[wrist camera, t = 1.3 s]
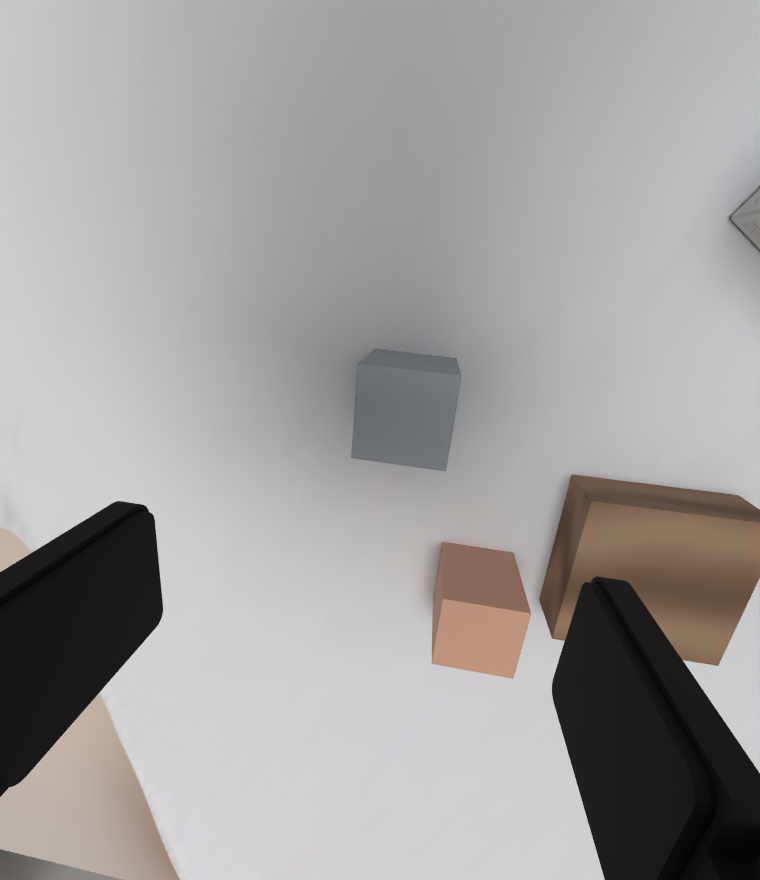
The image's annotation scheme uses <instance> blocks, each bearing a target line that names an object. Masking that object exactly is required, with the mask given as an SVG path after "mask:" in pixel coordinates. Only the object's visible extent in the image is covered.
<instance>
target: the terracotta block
mask: <svg viewBox="0 0 760 880" xmlns="http://www.w3.org/2000/svg"><path fill="white" fill-rule="evenodd" d="M530 616H531V612H530V608H529V605H528V601H527V598H526V594H525V591H524V588H523V584H522V581H521V577H520V574H519V570H518V567H517V563H516V560H515V557H514V553H511V552H504V551H498V550H491V549H485V548H478V547H472V546H466V545H459V544H453V543H446V542H442V547H441V553H440V559H439V565H438V571H437V577H436V583H435V589H434V595H433V623H432V664H436V665H442V666H447V667H453V668H458V669H463V670H469V671H474V672H480V673H485V674H491V675H496V676H502V677H507V678H514V675H515V671H516V667H517V664H518V660H519V656H520V653H521V649H522V645H523V641H524V638H525V634H526V630H527V627H528V623H529V619H530Z"/></svg>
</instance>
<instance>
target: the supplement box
mask: <svg viewBox="0 0 760 880" xmlns="http://www.w3.org/2000/svg"><path fill="white" fill-rule="evenodd" d="M731 220H732V221H733V222H734V223H735V224H736V226H737V227H738V228H739V229H740V230H741V231H742V232H743V233H744V234H745V235H746V236H747V237H748V238H749V239H750V240H751V241H752V242H753V243H754V244H755V245H756V246H757V247H758V248H759V250H760V189H759V190H758V191H757V192H756V193H755V194H754V195H753V196H752V197H751V198H749V199H748V200H747V201H746V202H745V203H744V204H743V205H742V206H741V207H740V208H739V209H738V210H737V211H736V212H735V213H734V214H733V215H732V216H731Z"/></svg>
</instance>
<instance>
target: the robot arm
mask: <svg viewBox="0 0 760 880" xmlns="http://www.w3.org/2000/svg"><path fill="white" fill-rule="evenodd" d="M162 613H163V603H162V593H161V583H160V572H159V562H158V551H157V541H156V530H155V520H154V516H153V515H152V514H151V513H149V510H148V509H147V507H146V506H144V505H141V504H134V503H128V502H122V501H117V502H115V503H112V504H111V505H109V506H107V507H106V508H104V509H103V510H101V511H99V512H98V513H96V514H94V515H93V516H91V517H90V518H88V519H86V520H85V521H83V522H81V523H80V524H78V525H77V526H75V527H73V528H72V529H70V530H68V531H67V532H65V533H63V534H62V535H60V536H59V537H57V538H55V539H54V540H52V541H50V542H49V543H47V544H46V545H44V546H42V547H41V548H39V549H37V550H36V551H34V552H33V553H31V554H29V555H28V556H26V557H24V558H23V559H21V560H20V561H18V562H16V563H15V564H13V565H11V566H10V567H8V568H7V569H5V570H3V571H2V572H0V797H1V796H2V795H3V793H4V792H5V791H6V790H7V789H8V788H9V787H12V786H14V785H16V784H18V783H19V782H21V781H22V780H23V779H24V778H25V777H26V776H27V775H28V774H29V772H30V771H31V770H32V769H33V768H34V767H35V766H36V764H37V763H38V762H39V761H40V760H41V758H43V756H44V755H45V754H46V753H47V752H48V751H49V750H50V748H51V747H52V746H53V745H54V744H55V743H56V741H57V740H58V739H59V738H60V737H61V736H62V735H63V733H64V732H65V731H66V730H67V729H68V727H70V725H71V724H72V723H73V722H74V721H75V720H76V719H77V717H78V716H79V715H80V714H81V713H82V711H84V709H85V708H86V707H87V706H88V705H89V704H90V702H91V701H92V700H93V699H94V698H95V697H96V696H97V694H98V693H99V692H100V691H101V690H102V689H103V688H104V686H105V685H106V684H107V683H108V682H109V681H110V680H111V678H112V677H113V676H114V675H115V674H116V673H117V672H118V670H119V669H120V668H121V667H122V666H123V665H124V664H125V662H126V661H127V660H128V659H129V658H130V657H131V655H132V654H133V653H134V652H135V651H136V650H137V649H138V647H139V646H140V645H141V644H142V643H143V642H144V641H145V639H146V638H147V637H148V636H149V635H150V634H151V633H152V631H153V630H154V629H155V628H156V627H157V625H158V624H159V622H160V620H161V617H162ZM552 695H553V701H554V705H555V708H556V712H557V715H558V719H559V722H560V726H561V729H562V733H563V736H564V739H565V743H566V746H567V750H568V753H569V757H570V760H571V764H572V767H573V771H574V774H575V778H576V781H577V785H578V788H579V791H580V795H581V798H582V802H583V805H584V809H585V812H586V816H587V819H588V823H589V826H590V830H591V833H592V836H593V840H594V843H595V847H596V850H597V854H598V857H599V861H600V864H601V868H602V871H603V875H604V878H605V880H760V773H759V772H758V770H757V769H756V767H755V766H754V764H753V763H752V761H751V760H750V758H749V757H748V756H747V754H746V753H745V751H744V750H743V748H742V747H741V745H740V744H739V742H738V741H737V739H736V738H735V737H734V735H733V734H732V732H731V731H730V729H729V728H728V726H727V725H726V723H725V722H724V720H723V719H722V717H721V716H720V715H719V713H718V712H717V710H716V709H715V707H714V706H713V704H712V703H711V701H710V700H709V698H708V697H707V696H706V694H705V693H704V691H703V690H702V688H701V687H700V685H699V684H698V682H697V681H696V679H695V678H694V676H693V675H692V674H691V672H690V671H689V669H688V668H687V666H686V665H685V663H684V662H683V660H682V659H681V657H680V656H679V655H678V653H677V652H676V650H675V649H674V647H673V646H672V644H671V643H670V641H669V640H668V638H667V637H666V635H665V634H664V633H663V631H662V630H661V628H660V627H659V625H658V624H657V622H656V621H655V619H654V618H653V616H652V615H651V614H650V612H649V611H648V609H647V608H646V606H645V605H644V603H643V602H642V600H641V599H640V597H639V596H638V594H637V593H636V592H635V590H634V589H633V587H632V586H631V585H630V583H629V582H627V581H624V580H618V579H612V578H605V577H599V576H596V577H594V578H593V579H592V581H591V583H590V582H585V583H584V584H583V585H582V587H581V590H580V593H579V596H578V600H577V603H576V606H575V610H574V613H573V616H572V619H571V623H570V626H569V629H568V633H567V636H566V639H565V642H564V646H563V649H562V652H561V655H560V659H559V662H558V665H557V669H556V672H555V675H554V678H553V683H552ZM0 880H122V879H118V878H114V877H110V876H106V875H102V874H98V873H94V872H90V871H86V870H82V869H78V868H74V867H70V866H66V865H62V864H57V863H54V862H50V861H45V860H41V859H37V858H33V857H29V856H25V855H20V854H17V853H13V852H9V851H5V850H0Z"/></svg>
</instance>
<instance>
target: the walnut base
mask: <svg viewBox="0 0 760 880" xmlns="http://www.w3.org/2000/svg"><path fill="white" fill-rule="evenodd" d="M596 576H599V577H605V578H612V579H618V580H624V581H627V582H629V583H630V585H631V586H632V587H633V589H634V590H635V592H636V593H637V594H638V596H639V597H640V599H641V600H642V602H643V603H644V605H645V606H646V608H647V609H648V611H649V612H650V614H651V615H652V616H653V618H654V619H655V621H656V622H657V624H658V625H659V627H660V628H661V630H662V631H663V633H664V634H665V635H666V637H667V638H668V640H669V641H670V643H671V644H672V646H673V647H674V649H675V650H676V652H677V653H678V655H679V656H680V657H681V659H682V660H686V661H692V662H698V663H704V664H710V665H716V666H718V665H719V663H720V661H721V659H722V656H723V654H724V652H725V650H726V648H727V646H728V644H729V642H730V639H731V637H732V635H733V633H734V631H735V629H736V627H737V625H738V622H739V620H740V618H741V616H742V614H743V612H744V610H745V608H746V606H747V603H748V601H749V599H750V597H751V595H752V593H753V591H754V589H755V586H756V584H757V582H758V580H759V578H760V510H759V509H758V508H756V507H755V506H753V505H752V504H750V503H749V502H747V501H746V500H744V499H743V498H741V497H740V496H738V495H731V494H723V493H715V492H707V491H699V490H691V489H683V488H675V487H667V486H659V485H651V484H642V483H634V482H626V481H618V480H610V479H602V478H594V477H586V476H578V475H572V476H571V480H570V484H569V488H568V492H567V495H566V499H565V503H564V507H563V511H562V515H561V519H560V522H559V526H558V530H557V534H556V538H555V542H554V546H553V549H552V553H551V557H550V561H549V565H548V569H547V573H546V576H545V580H544V584H543V588H542V592H541V596H540V603H541V606H542V609H543V612H544V615H545V618H546V621H547V624H548V627H549V630H550V633H551V636H552V639H558V640H564V641H565V639H566V636H567V633H568V629H569V626H570V623H571V619H572V616H573V613H574V610H575V606H576V603H577V600H578V596H579V593H580V590H581V587H582V585H583V584H584V583H585V582H590V583H591V581H592V579H593V578H594V577H596Z"/></svg>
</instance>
